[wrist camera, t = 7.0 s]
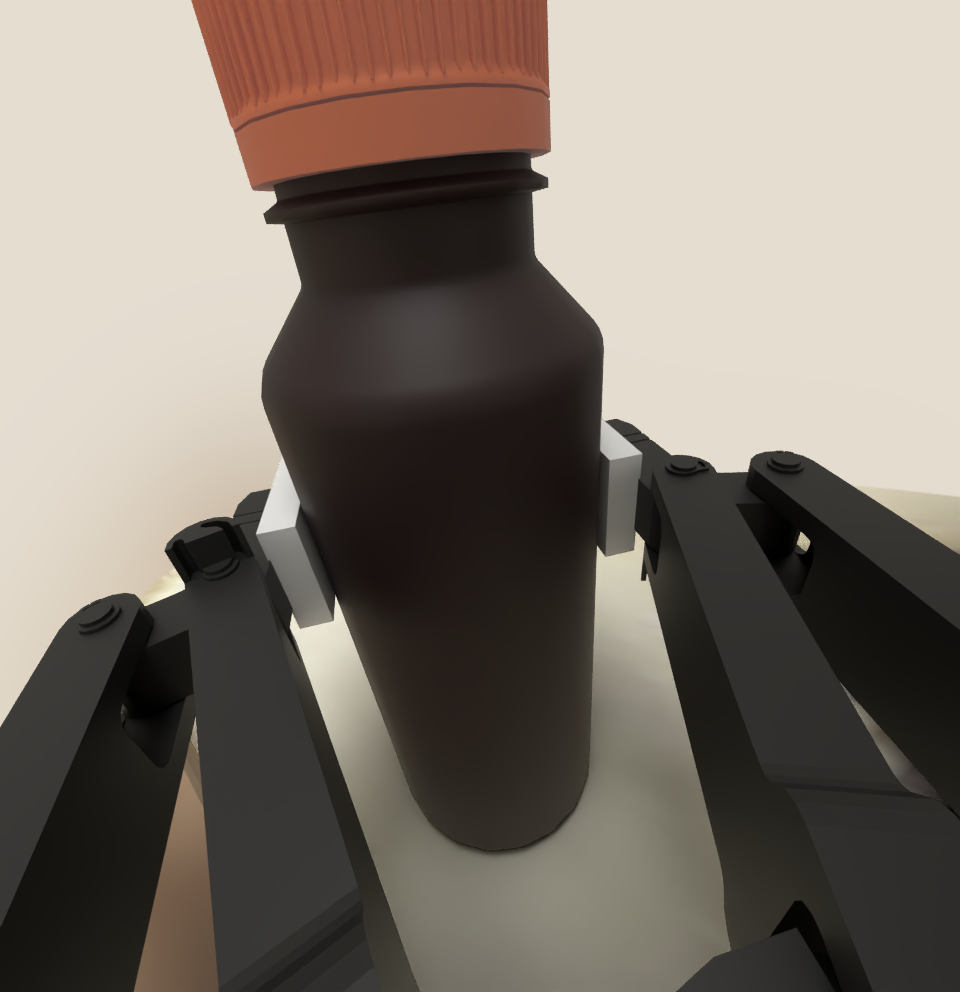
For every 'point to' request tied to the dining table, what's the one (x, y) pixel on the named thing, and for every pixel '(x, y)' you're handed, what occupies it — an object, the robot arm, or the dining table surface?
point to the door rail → (182, 901)
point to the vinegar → (432, 381)
